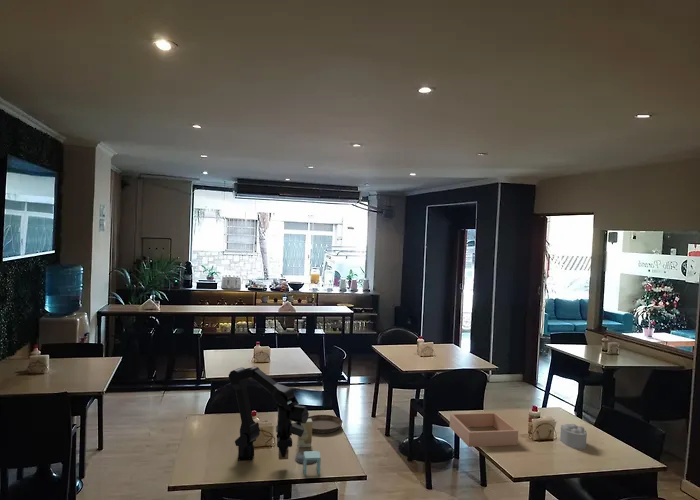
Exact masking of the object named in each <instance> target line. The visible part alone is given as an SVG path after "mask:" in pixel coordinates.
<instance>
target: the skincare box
mask: <svg viewBox="0 0 700 500" xmlns="http://www.w3.org/2000/svg"><path fill="white" fill-rule="evenodd" d="M312 423H313V421H312V419H311V418H310V419H308V420H307V422H306V423H301V426H302V425H303V427H304V432H303V435H302V437H299V436H297V440H296V441H297V442H296V443H297V447H298V448H310V447H312V441H313V440H312V439H313V432H312Z"/></svg>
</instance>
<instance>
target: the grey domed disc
mask: <svg viewBox="0 0 700 500" xmlns="http://www.w3.org/2000/svg"><path fill="white" fill-rule="evenodd" d="M304 452H305V451H300V452H298V453H296V455H295V460H296V462H298V463H299V464H303V457H304ZM314 463H317V460H307V465H309V464H314Z"/></svg>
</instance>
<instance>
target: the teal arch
mask: <svg viewBox="0 0 700 500" xmlns="http://www.w3.org/2000/svg"><path fill="white" fill-rule="evenodd" d="M321 459H322V458H321V454H320V451H319V450H312V451H310V450H306V451H305V452H304V457H303V463H302V465H303V466H302V469H303V475H304V476H307V466H308V464H307V460H317V461H316V471H317V474H318V475H319V476H320V475H321V463H322V462H321V461H322V460H321Z"/></svg>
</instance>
